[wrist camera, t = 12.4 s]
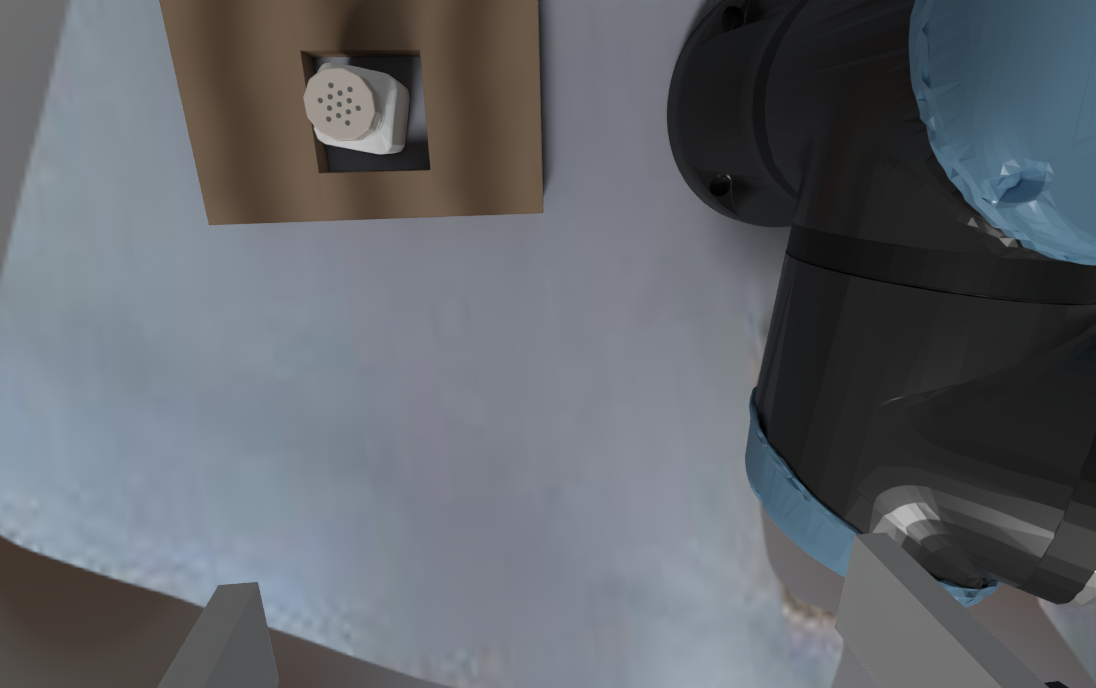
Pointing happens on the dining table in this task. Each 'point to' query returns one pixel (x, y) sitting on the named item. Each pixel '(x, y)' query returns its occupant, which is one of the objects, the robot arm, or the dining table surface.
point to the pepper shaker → (357, 108)
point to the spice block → (289, 137)
